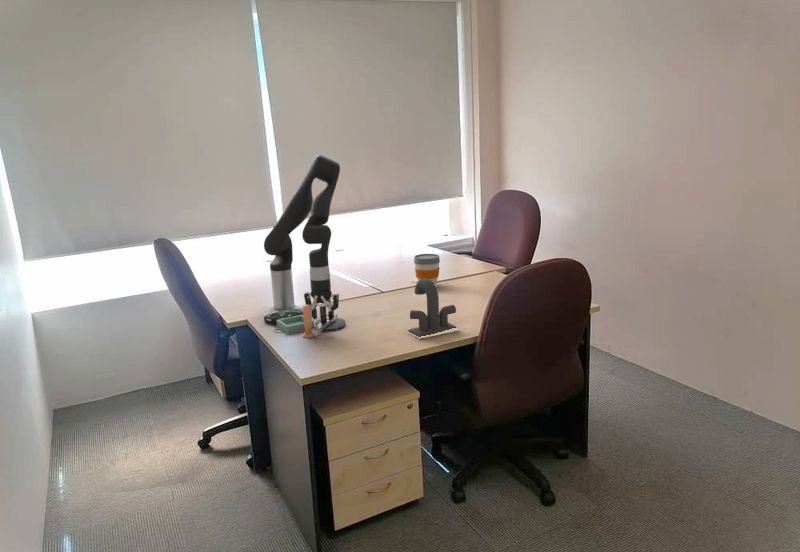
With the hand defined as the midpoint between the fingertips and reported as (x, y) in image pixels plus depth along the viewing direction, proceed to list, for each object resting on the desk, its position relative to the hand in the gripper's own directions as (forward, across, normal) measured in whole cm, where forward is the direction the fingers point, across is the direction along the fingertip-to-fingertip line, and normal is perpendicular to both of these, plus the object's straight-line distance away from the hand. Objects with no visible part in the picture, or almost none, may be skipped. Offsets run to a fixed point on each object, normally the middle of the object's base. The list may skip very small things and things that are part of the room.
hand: (323, 319), depth 224 cm
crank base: (+5, 0, +6) cm, 8 cm away
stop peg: (+5, -3, -7) cm, 9 cm away
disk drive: (+5, -22, +10) cm, 24 cm away
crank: (+3, 0, +1) cm, 3 cm away
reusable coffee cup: (+5, +22, +72) cm, 75 cm away
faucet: (+5, +39, +10) cm, 41 cm away
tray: (+5, -13, +1) cm, 14 cm away
